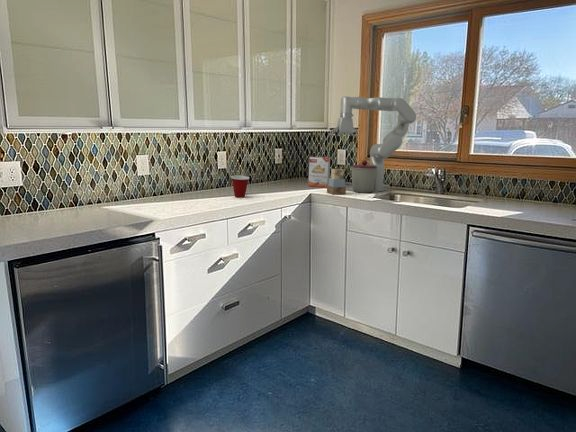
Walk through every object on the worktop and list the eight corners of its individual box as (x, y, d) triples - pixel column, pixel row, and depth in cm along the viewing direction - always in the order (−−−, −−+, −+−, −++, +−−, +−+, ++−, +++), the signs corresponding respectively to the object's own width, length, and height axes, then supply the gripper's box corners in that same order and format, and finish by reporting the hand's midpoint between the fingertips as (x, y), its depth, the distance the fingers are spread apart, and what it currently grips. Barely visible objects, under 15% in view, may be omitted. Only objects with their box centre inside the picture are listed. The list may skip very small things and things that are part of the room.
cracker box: (308, 186, 313) (309, 156, 309) (310, 185, 319) (311, 156, 315) (327, 187, 309) (328, 157, 305) (329, 186, 315) (330, 157, 311)
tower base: (339, 192, 287) (339, 185, 286) (345, 195, 279) (346, 187, 278) (326, 193, 284) (327, 185, 283) (332, 195, 276) (333, 187, 275)
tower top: (339, 185, 286) (340, 177, 285) (344, 187, 278) (345, 179, 277) (328, 185, 284) (328, 177, 283) (333, 187, 276) (333, 179, 275)
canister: (369, 190, 304) (371, 159, 300) (381, 193, 287) (383, 161, 282) (344, 190, 299) (346, 159, 295) (355, 194, 282) (357, 161, 278)
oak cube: (339, 178, 283) (340, 168, 282) (343, 179, 277) (343, 169, 276) (331, 178, 281) (331, 168, 280) (334, 179, 276) (334, 169, 274)
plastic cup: (235, 199, 249) (236, 177, 247) (227, 196, 258) (227, 175, 255) (252, 197, 255) (252, 177, 252) (243, 195, 264) (244, 175, 261)
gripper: (354, 116, 296) (353, 142, 300) (331, 115, 290) (330, 141, 294) (360, 116, 289) (358, 142, 293) (336, 115, 283) (335, 142, 287)
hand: (344, 142), depth 293 cm, fingers open, 9 cm apart
